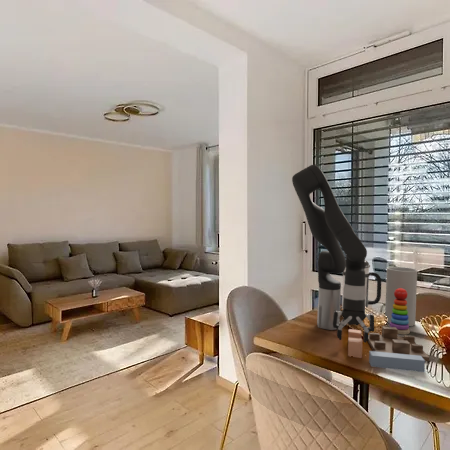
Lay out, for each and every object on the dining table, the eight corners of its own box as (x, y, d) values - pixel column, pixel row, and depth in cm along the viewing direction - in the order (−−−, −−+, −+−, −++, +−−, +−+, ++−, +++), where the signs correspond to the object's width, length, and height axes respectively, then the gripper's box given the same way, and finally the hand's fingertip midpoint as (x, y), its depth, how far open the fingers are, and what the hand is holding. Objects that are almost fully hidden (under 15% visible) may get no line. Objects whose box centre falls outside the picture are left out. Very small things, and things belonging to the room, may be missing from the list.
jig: (376, 356, 125) (377, 341, 125) (365, 337, 145) (365, 324, 144) (429, 361, 122) (430, 346, 122) (410, 340, 141) (411, 327, 141)
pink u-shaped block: (361, 358, 124) (362, 343, 124) (348, 356, 125) (348, 341, 125) (360, 344, 137) (361, 330, 137) (348, 342, 139) (348, 329, 138)
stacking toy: (413, 335, 148) (415, 290, 147) (393, 335, 148) (395, 290, 147) (404, 329, 155) (405, 286, 155) (385, 328, 156) (387, 286, 155)
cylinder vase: (396, 327, 157) (398, 271, 156) (379, 319, 169) (381, 267, 168) (421, 326, 160) (423, 271, 159) (402, 318, 172) (404, 266, 171)
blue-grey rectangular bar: (371, 367, 117) (371, 355, 117) (368, 362, 121) (369, 350, 121) (424, 373, 114) (425, 360, 114) (420, 367, 118) (420, 355, 117)
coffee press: (362, 320, 167) (364, 256, 166) (332, 312, 179) (334, 253, 178) (380, 314, 178) (383, 254, 177) (351, 307, 190) (353, 251, 189)
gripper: (334, 297, 128) (332, 342, 129) (377, 300, 125) (375, 346, 126) (333, 293, 136) (331, 335, 136) (373, 296, 132) (371, 339, 133)
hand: (352, 340), depth 131 cm, fingers open, 8 cm apart
